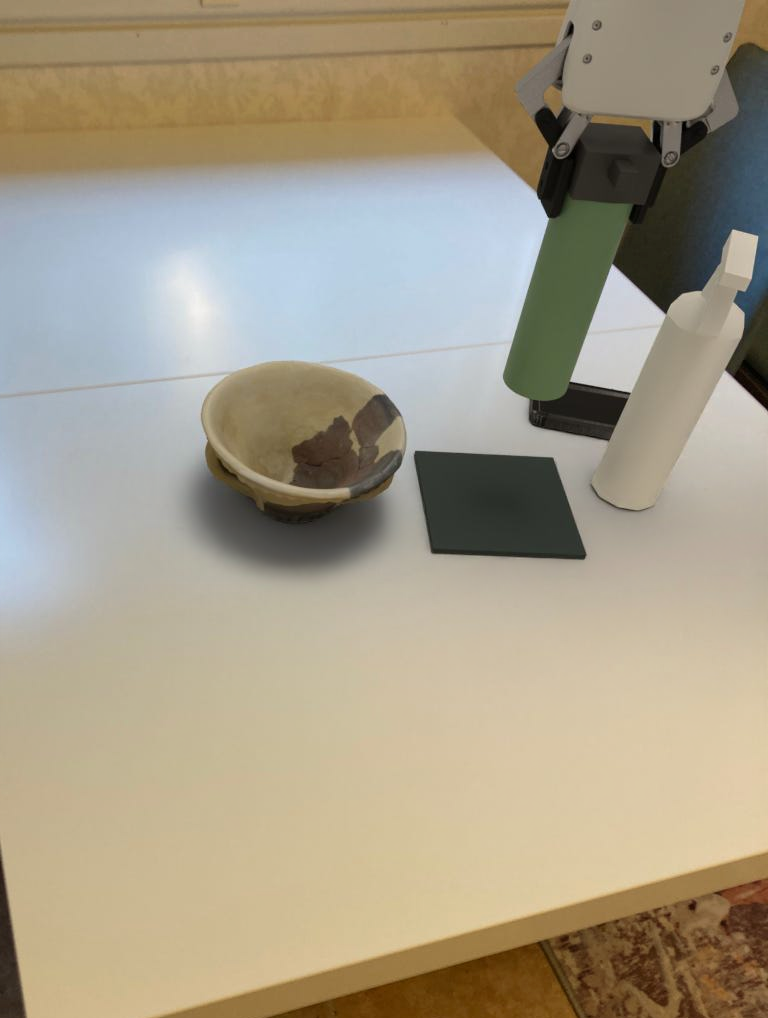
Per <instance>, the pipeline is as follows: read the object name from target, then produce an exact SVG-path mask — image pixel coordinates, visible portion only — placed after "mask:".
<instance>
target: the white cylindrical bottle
mask: <svg viewBox="0 0 768 1018" xmlns="http://www.w3.org/2000/svg"><path fill="white" fill-rule="evenodd" d="M758 242H759V235H755V234H751V233H748V232H744V231H740V230H737V229H731V232H730V233H729V236H728V238H727V240H726V241H725V244H724V245H723V247H722V252H721V259H720V263H719V264H718V265H717V267H716V268H715V271H714V272H713V274H712V275H711V277H710V278H709V280H708V281H707V283H706V284H705V285H704V287H703V289H702V290H695V291H694V290H693V291H689V292H684V293H682V294H680V295H679V296H678V297H677V298H676V299H675V300H674V301H672V303H670V306H669V307H668V309H667V312H666V313H665V316H664V319H663V321H662V323H661V324H660V325H661V326H660V327H659V329H658V331H657V334H656V336H655V339H654V341H653V343H652V346H651V347H650V350H649V352H648V354H647V355H646V359H645V361H644V363H643V364H642V368H641V370H640V372H639V375H638V377H637V379H636V381H635V383H634V385H633V387H632V389H631V392H630V393H631V394H630V396H629V399H628V401H627V403H626V405H625V407H624V410H623V412H622V414H621V416H620V419H619V421H618V423H617V425H616V427H615V430H614V432H613V434H612V436H611V439H609V441H608V443H607V446H606V448H605V450H604V452H603V454H602V456H601V458H600V461H599V463H598V465H597V468H596V470H595V472H594V475H593V477H592V479H591V482H590V484H591V486H592V487H593V489H594V490H595V492H596V493H597V495H598V497H599V498H601V499H603V500H605V501H606V502H608V503H610V504H611V505H613V506H615V507H616V508H620V509H627V510H632V511H642V510H645V509H648V508H652V507H654V505H655V504H656V503H657V501H658V498H659V496H660V494H661V493H662V490H663V488H664V487H665V485H666V483H667V481H668V479H669V477H670V475H671V473H672V472H673V470H674V468H675V466H676V464H677V462H678V460H679V459H680V456H681V454H682V452H683V450H684V448H685V447H686V445H687V442H688V441H689V439H690V437H691V436H692V434H693V431H694V429H695V428H696V426H697V424H698V422H699V420H700V418H701V416H702V415H703V412H704V411H705V409H706V407H707V404H708V402H709V401H710V400H711V397H712V396H713V393H714V392H715V389H716V387H717V386H718V384H719V382H720V380H721V378H722V376H723V374H724V372H725V370H726V368H727V366H728V364H729V362H730V361H731V359H732V357H733V355H734V353H735V352H736V349H737V348H738V346H739V343H740V342H741V340H742V339H743V333H744V329H745V312H744V311H743V310H742V309H741V308H740V307H739V306H738V304H736V303H735V299H736V296H737V293H738V291H741V292H744V293H745V292H746V291H747V289H748V287H749V285H750V283H751V282H752V280H753V279H752V278H753V273H754V266H755V260H756V255H757V254H756V253H757V248H758Z"/></svg>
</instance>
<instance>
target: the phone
mask: <svg viewBox="0 0 768 1018" xmlns="http://www.w3.org/2000/svg"><path fill="white" fill-rule="evenodd" d="M630 394H631V392H630V391H624V390H618V389H613V388H609V387H603V386H596V385H593V384H587V383H580V382H576V381H570V382H569V385H568V388H567V391H566V393H565V394H564V395H563V396H561V397H560V398H557V399H554V400H548V401H540V400H533V399H529V414H528V415H529V417H528V418H529V421H530V422H531V423H532V425H533V424H534V425H535V426H538V427H542V428H548V429H554V430H559V431H563V432H568V433H575V434H579V435H580V434H581V435H585V436H591V437H595V438H601V439H607V440H610V439H611V436H612V434H613V432H614V430H615V427H616V425H617V423H618V421H619V419H620V416H621V414H622V412H623V410H624V407H625V405H626V403H627V401H628V399H629V396H630Z"/></svg>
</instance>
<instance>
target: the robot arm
mask: <svg viewBox="0 0 768 1018" xmlns="http://www.w3.org/2000/svg"><path fill="white" fill-rule="evenodd" d="M745 4H746V0H570V2H569V4H568V6H567V9H566V12H565V15H564V18H563V21H562V25H561V27H560V31H559V33H558V36H557V39H556V43H555V46H554V48H553V49H552V50H551V51H550V52H548V53H547V54H546V55H545V56H544V57H543V58H542V59H541V60H540V61H539V62H537V64H536V65H534V66H533V67H532V68H531V69H530V70H529V71H527V72H526V74H525V75H523V76H522V77H521V78H520V79H519V80H518V81H517V82H516V84H515V85H514V87H513V91H514V95H515V96H516V98H517V100H518V102H519V103H520V104H521V106H522V107H523V108H524V110H525V111H526V113H527V114H528V116H529V117H530V118H531V119H532V121H533V123H534V124H535V125H536V127H537V129H538V130H539V133H540V134H541V136H542V137H543V139H544V140H545V143H546V144H547V146H548V148H547V150H546V155H545V158H544V162H543V164H542V169H541V173H540V175H539V178H538V179H539V180H538V182H537V187H536V197H537V199H538V200H539V202H540V204H541V206H542V208H543V210H544V213H545V215H546V217H547V219H549V218H556V217H559V215H560V212H561V209H562V206H563V202H564V199H565V196H566V193H567V189H568V186H569V183H570V179H571V176H572V173H573V170H574V166H575V161H574V159H573V158H572V156H571V155H572V151H573V148H574V146H575V144H576V143H577V141H578V140H579V138H580V136H581V135H582V133H583V132H584V130H585V128H586V127H587V125H588V124H589V122H591V120H592V119H593V117H594V116H599V117H609V118H610V117H611V118H622V119H635V120H647V121H651V122H650V137H649V139H650V140H651V142H652V143H653V145H654V146H655V148H656V149H657V150H658V152H659V153H660V155H661V156H662V159H661V161H660V164H659V167H658V169H657V172H656V175H655V178H654V180H653V183H652V186H651V188H650V191H649V194H648V197H647V199H646V202H645V204H644V205H639V204H634V205H633V207H632V210H631V213H630V216H629V219H628V221H630V222H631V223H632V224H633V225H639V226H640V225H643V222H644V220H645V217H646V215H647V212H648V210H649V209H653V207H654V205H655V203H656V200H657V198H658V195H659V193H660V190H661V187H662V185H663V182H664V179H665V177H666V174H667V171H668V169H669V168H672V167H674V166H675V165H676V164H677V163H678V162H679V160H680V157H681V156H682V155H684V154H685V153H687V152H688V151H689V150H691V149H692V148H694V147H695V146H696V145H698V144H699V143H700V142H702V141H703V140H704V139H705V138H706V137H707V135H708V134H709V133H713V132H715V131H716V130H717V129H719V128H720V127H722V126H724V125H725V124H727V123H729V122H730V121H732V120H733V119H735V118H736V117H737V115H738V114H739V112H740V107H739V103H738V101H737V97H736V95H735V91H734V89H733V85H732V83H731V79H730V77H729V74H728V70H727V68H726V66H727V63H728V61H729V57H730V55H731V51H732V48H733V45H734V43H735V39H736V36H737V32H738V29H739V25H740V23H741V18H742V16H743V11H744V9H745ZM551 86H552V87H553V88H554V89H556V90H558V91H560V92H561V95H560V101H561V103H562V104H561V105H560V107H559V109H558V111H557V112H556V114H555V113H554V112H553V110H552V108H551V107H550V105H549V104H548V102H547V100H545V98H544V95H545V92H546V91H547V90H548V89H549V88H550V87H551Z"/></svg>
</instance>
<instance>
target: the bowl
mask: <svg viewBox="0 0 768 1018" xmlns="http://www.w3.org/2000/svg"><path fill="white" fill-rule="evenodd" d="M200 421H201V425H202V429H203V431H204V433H205V437H206V440H207V442H206V444H205V449H204V457H205V461H206V465H207V468H208V470H209V472H210V474H211V475H213V477H214V478H215V479H216V480H218V481H219V482H221V483H222V484H224V485H226V486H228V487H229V488H231V489H233V490H234V491H237V492H239V493H240V494H242V495H244V496H247V497H249V498H251V500H253V501H255V502H256V503H255V504H256V507H257V508H258V509H259V510H260V511H261V512H263V513H264V515H265V516H268V517H270V518H272V519H274V520H276V521H277V520H278V521H280V522H283V523H287V524H288V523H290V524H300V523H301V524H303V523H306V522H314V521H316V520H318V519H321V518H323V517H325V516H326V515H327V514H329V513H331V512H333V511H334V510H335V508H336V507H337V506H340V505H344V504H351V503H352V504H353V503H357V502H362V501H365V500H370V499H374V498H376V497H377V496H379V495H381V494H382V493H384V492H385V491H386V490H387V489H388V488H389V487H390V486H391V485H392V482H393V479H394V477H395V473H396V472H397V471H398V470H400V468H401V466H402V465H403V464H402V463H403V460H404V457H405V453H406V449H407V438H408V437H407V430H406V429H407V428H406V424H405V421H404V418H403V415H402V413H401V412H400V410H399V409H398V408H397V406H396V405H395V403H394V402H393V401H392V400H391V398H390V397H389V396H388V395H387V394H386V393H385V392H384V391H383V390H382V389H381V388H379V387H378V386H376V385H375V384H373V383H371V382H370V381H368V380H366V379H365V378H363V377H361V376H359V375H357V374H355V373H352V372H348V371H345V370H343V369H340V368H337V367H333V366H329V365H323V364H318V363H313V362H308V361H302V360H272V361H266V362H262V363H259V364H254V365H251V366H249V367H245V368H242V369H239V370H237V371H234V372H232V373H231V374H229V375H227V376H225V377H224V378H222V379H221V380H220V381H218V382H217V383H216V384H215V385H214V386H213V387H212V388H211V389H210V390H209V392H208V393H207V395H206V396H205V398H204V400H203V402H202V405H201V410H200Z"/></svg>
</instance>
